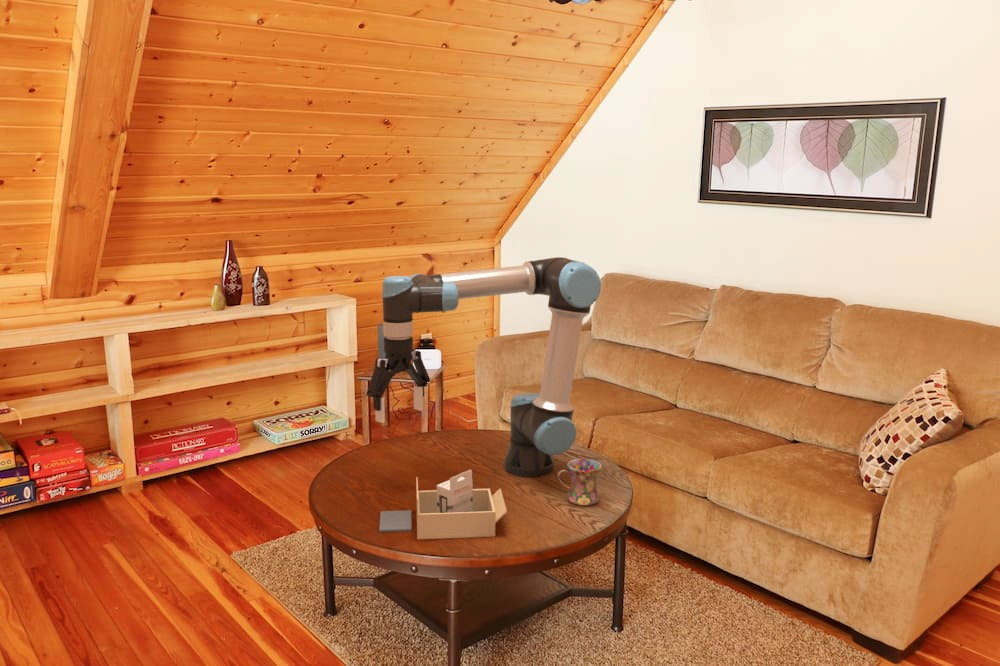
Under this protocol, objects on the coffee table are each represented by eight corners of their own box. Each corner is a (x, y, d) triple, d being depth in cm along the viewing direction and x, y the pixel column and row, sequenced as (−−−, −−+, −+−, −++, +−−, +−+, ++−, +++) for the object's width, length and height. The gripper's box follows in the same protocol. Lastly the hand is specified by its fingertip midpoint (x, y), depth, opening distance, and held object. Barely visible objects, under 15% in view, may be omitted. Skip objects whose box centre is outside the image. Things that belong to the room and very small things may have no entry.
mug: (594, 493, 229) (596, 457, 227) (604, 507, 220) (606, 470, 218) (553, 495, 227) (554, 459, 225) (561, 509, 218) (562, 472, 216)
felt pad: (411, 512, 215) (411, 510, 215) (411, 531, 205) (411, 528, 205) (380, 513, 214) (380, 511, 214) (379, 532, 204) (379, 530, 204)
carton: (499, 506, 219) (499, 470, 217) (506, 535, 203) (507, 496, 201) (416, 509, 217) (416, 472, 215) (417, 539, 200) (416, 499, 198)
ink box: (459, 517, 213) (459, 463, 210) (473, 522, 210) (473, 468, 207) (436, 527, 207) (435, 473, 204) (450, 533, 204) (450, 478, 200)
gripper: (422, 327, 221) (423, 402, 226) (350, 342, 203) (353, 423, 207) (442, 331, 217) (443, 407, 221) (370, 347, 198) (373, 430, 203)
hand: (399, 415), depth 214 cm, fingers open, 13 cm apart
